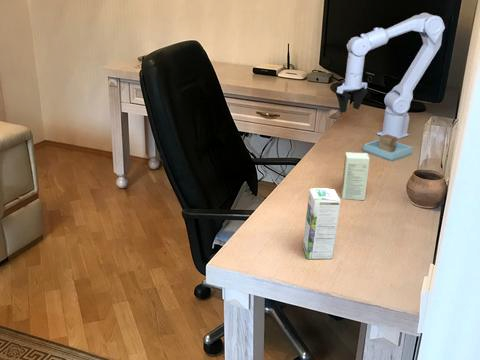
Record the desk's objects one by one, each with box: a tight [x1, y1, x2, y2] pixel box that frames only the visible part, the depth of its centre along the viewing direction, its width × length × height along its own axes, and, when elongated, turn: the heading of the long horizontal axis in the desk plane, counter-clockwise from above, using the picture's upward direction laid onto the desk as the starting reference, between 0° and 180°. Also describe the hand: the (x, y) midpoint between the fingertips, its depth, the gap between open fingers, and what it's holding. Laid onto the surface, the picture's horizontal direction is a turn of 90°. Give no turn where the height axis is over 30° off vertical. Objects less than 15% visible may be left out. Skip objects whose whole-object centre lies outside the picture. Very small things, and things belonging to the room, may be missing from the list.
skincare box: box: [340, 151, 371, 201], centre depth 142 cm, size 6×4×12 cm
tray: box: [362, 138, 414, 162], centre depth 178 cm, size 12×12×2 cm
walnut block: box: [379, 134, 398, 152], centre depth 177 cm, size 4×4×5 cm
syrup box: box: [302, 187, 341, 260], centre depth 114 cm, size 6×6×14 cm
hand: (349, 110), depth 190 cm, fingers open, 7 cm apart
